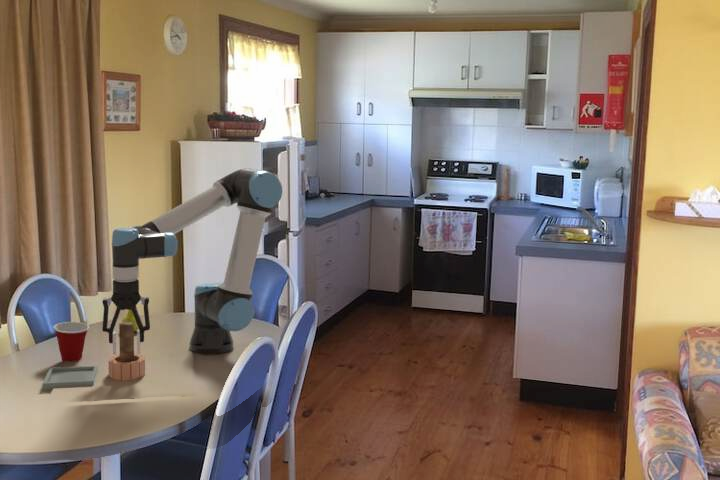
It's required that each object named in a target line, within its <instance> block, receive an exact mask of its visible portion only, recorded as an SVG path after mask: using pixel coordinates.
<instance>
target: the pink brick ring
mask: <svg viewBox="0 0 720 480" xmlns="http://www.w3.org/2000/svg"><path fill="white" fill-rule="evenodd" d="M107 362H108V378H110V379H112V380H115V381H130V380H131V381H132V380H137V379H140V378H142V377H144V376H145V375H146V356H145V355H143V354H141V353H135V352H134V361H132V362H120V353H119V354H113V355H112V356H110V357H109V358H108V361H107Z"/></svg>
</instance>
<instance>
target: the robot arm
mask: <svg viewBox="0 0 720 480" xmlns="http://www.w3.org/2000/svg"><path fill="white" fill-rule="evenodd" d="M282 196H283V186H282V184H281V181H280V179H279V177H278V176H276V174H274V173H272V172H269V171H267V170H263V169H254V168H253V169H252V168H247V167H245V168H241V169H237V170H235V171H232V172H231V173H229V174H227V175H225V176H224V177H221V178H220V179H217V180H216V181H215V182H213V184H212V186H211V187H210V188H208V189H207V190H205V191H202V192H201V193H199V194H197V195H195V196H193V197H191V198H190V199H188V200H186V201H184V202H183V203H181V204H179V205H177V206H175V207H174V208H172V209H170V210H169V211H168V210H167V212H165V213H163V214H161V215H159V216H158V217H156V218H153V219H152V220H151V221H148V222H147V223H144V224H143V225H134V226H132V227H118V228H115V229H114V230H113V231H112V236H111V249H112V250H111V252H112V253H111V254H112V279H113V280H112V296H111V297H108V298H107V297H104V298H103V299H102V306H103V316H102V332H103V333H107V334H108V343H109V344H112V355H117V331H116V330H115V327H116V323H117V321H118V318H119V315H120V312H121V311H125V310H128V311H129V310H132V313H133V315H134V317H135V320H136V323H137V325H138V328H139V329H138V330H137V331H136V337H137V339H136V340H137V346H136V347H137V354H141V343H144V341H145V332H146V331H149V330H150V329H151V324H150V323H151V322H150V321H151V320H150V312H149V303H150V297H148V296H147V297H144V296H142V295H141V294H140V281H139V277H140V276H139V275H140V273H139V270H140V268H139V265H140V263H139V261H140V260H142V259H143V260H144V259H155V258H156V259H157V258H167V257H173V256H175V255H176V254H177V252H178V247H179V245H178V244H179V243H178V238H177V236H176V235H175V234H177V233H179V232H180V231H182V230H184V229H185V228H187V227H190V226H191V225H193V224H195V223H196V222H198V221H200V220H202V219H203V218H205V217H207V216H209V215H210V214H212V213H214V212H216V211H218V210H220V209H221V208H223V207H225V208H229V207H231V206H233V205H235V204H236V207H237V209H238V210H239V216H238V219H237V220H238V221H237V225H236V229H235V233H234V237H233V241H232V245H231V251H230V254H229V259H228V263H227V268H226V272H225V276H224V281H223V282H211V283H203V284H198V285H197V286H196V287H195V289H194V295H193V297H194V328H193V331H192V334H191V337H190V339H189V340H190V341H189V351H191V352H193V353H196V354H201V355H217V354H218V355H219V354H224V353H228V352H230V351H232V350H233V349H234V339H233V335H232V334H231V332H239V331H242V330H244V329H245V328H247V327H248V326H249V325H250V324H251V322H252V321H253V319H254V315H255V309H254V308H255V306H254V305H253V303H252V302H251V301H252V298H253V292H252V289H251V288H250V286H251V281H252V277H253V273H254V267H255V265H256V259H257V255H258V251H259V247H260V243H261V239H262V234H263V229H264V226H265V222H266V221H265V220H266V219H267V218H268V217H269V216H270V215H272V211H273V207H276V205H277V204H278V203H280V200H281V199H282ZM112 302H113V304H114V305H115V307H116V309H115V311H114V312H115V313H114V315H113V317H112V320H111V323H110V326H108V325H109V324H108V323H109V310H110V306H111V303H112ZM139 302H141V305H143V314H144V315H143V316H144V324H145V325H144V324H143V322H142V318H141V316H140V314H139V312H138V308H137V304H138V303H139ZM140 318H141V319H140Z"/></svg>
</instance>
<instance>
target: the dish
mask: <svg viewBox="0 0 720 480" xmlns="http://www.w3.org/2000/svg"><path fill="white" fill-rule="evenodd" d="M98 372H99V365H97V364H96V365H81V366H79V365H77V366H57V367H49V369H48V371H47V373H46V375H45V377H44V380H43V381H42V391H47V392H48V391H53V389H54V388H63V387H81V386H94V385H95V383H96V382H95V381H96V378H97V374H98Z"/></svg>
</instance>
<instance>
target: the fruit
mask: <svg viewBox="0 0 720 480" xmlns="http://www.w3.org/2000/svg"><path fill="white" fill-rule="evenodd" d="M140 319H141V320H142V317H140ZM123 322H132V323H134V332H137V331H139V328H138V325H137V323H136V320H135V317H134V315H133V313H132V310H128V311H127V313H126V315H125V316H123V318H122V319H121V323H123Z"/></svg>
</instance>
